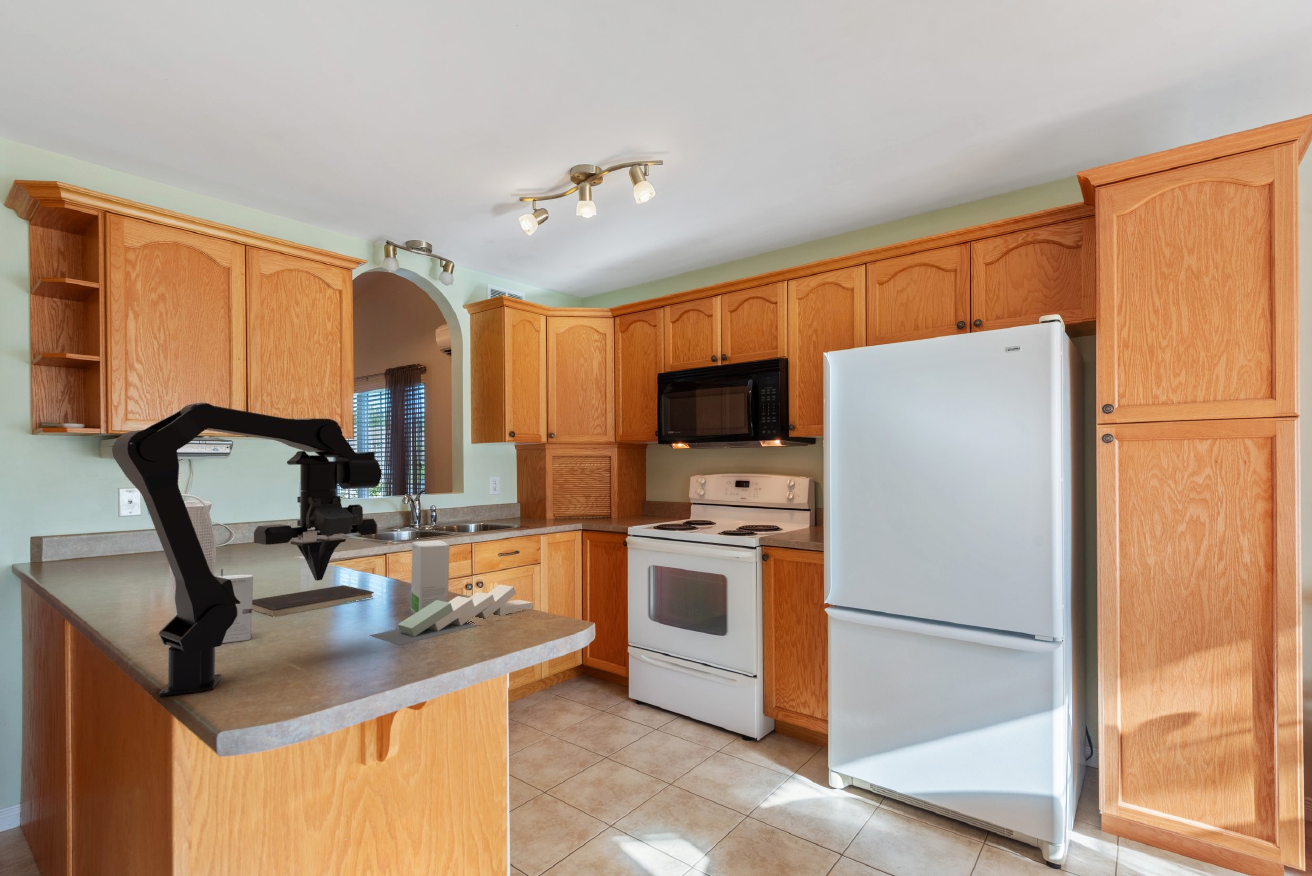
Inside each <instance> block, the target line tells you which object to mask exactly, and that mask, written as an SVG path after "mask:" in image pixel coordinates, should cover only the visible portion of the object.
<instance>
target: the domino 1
mask: <svg viewBox="0 0 1312 876" xmlns="http://www.w3.org/2000/svg"><path fill="white" fill-rule="evenodd" d="M448 602H449V601H448ZM448 602H443V601H439V600H436V601H434V602H432V603H431V604H429V605H428V606H426V607H425V608H423V609H421V610H420V611H418V612H417V613H413V614H412V615H410V616H408V617H407V618H406V619H404V620H402V621H401V622H399V623H398V624H397V627H398V629H400V632H401V633H404V634H408V635H411V636H414V637H415V636H416V635H418V634H419V633H421V632H422V631H424V630H425V629H427V628H428V627H430V626H431V625H433V624H434V623H436V622H437V621H439V620H441V619H442V618H444V617H445V616H447V615H448V614H450V613H451V612H453V608H452V606H451V603H448Z"/></svg>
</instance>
